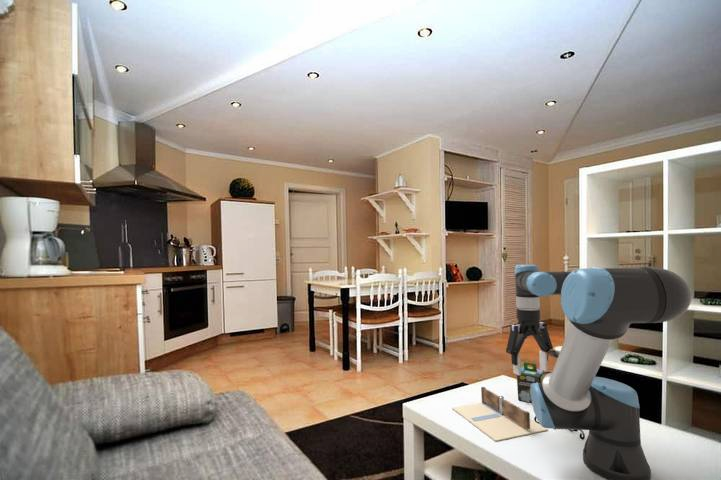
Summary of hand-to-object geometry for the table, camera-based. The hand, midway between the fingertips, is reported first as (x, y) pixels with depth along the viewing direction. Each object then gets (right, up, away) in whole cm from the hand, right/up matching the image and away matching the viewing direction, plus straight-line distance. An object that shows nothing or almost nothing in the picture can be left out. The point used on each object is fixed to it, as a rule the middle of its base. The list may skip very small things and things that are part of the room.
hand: (530, 372), depth 122 cm
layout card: (-10, -18, +4) cm, 21 cm away
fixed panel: (-9, -19, +12) cm, 24 cm away
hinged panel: (-5, -17, -1) cm, 18 cm away
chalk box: (+10, -19, +20) cm, 29 cm away
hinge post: (-7, -18, +6) cm, 21 cm away
